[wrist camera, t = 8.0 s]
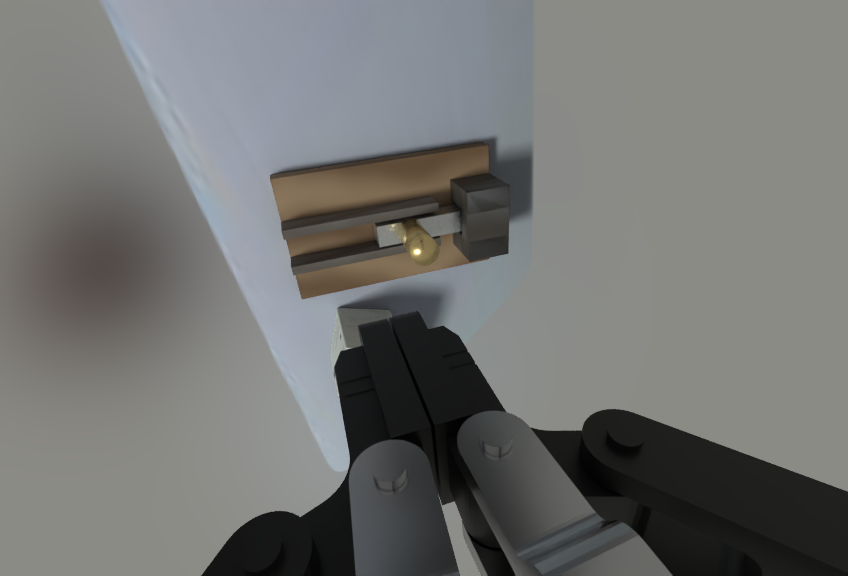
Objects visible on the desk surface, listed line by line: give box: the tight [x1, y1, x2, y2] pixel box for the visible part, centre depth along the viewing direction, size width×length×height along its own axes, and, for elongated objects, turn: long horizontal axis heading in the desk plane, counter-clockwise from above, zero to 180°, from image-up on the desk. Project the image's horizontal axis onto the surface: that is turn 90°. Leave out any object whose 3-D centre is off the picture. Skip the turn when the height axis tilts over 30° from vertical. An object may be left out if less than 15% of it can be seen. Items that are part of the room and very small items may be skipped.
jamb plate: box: [270, 142, 509, 299], centre depth 41 cm, size 12×20×6 cm, turn 95°
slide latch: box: [373, 204, 462, 266], centre depth 39 cm, size 2×11×7 cm, turn 95°
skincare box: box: [330, 308, 393, 396], centre depth 45 cm, size 6×6×7 cm
